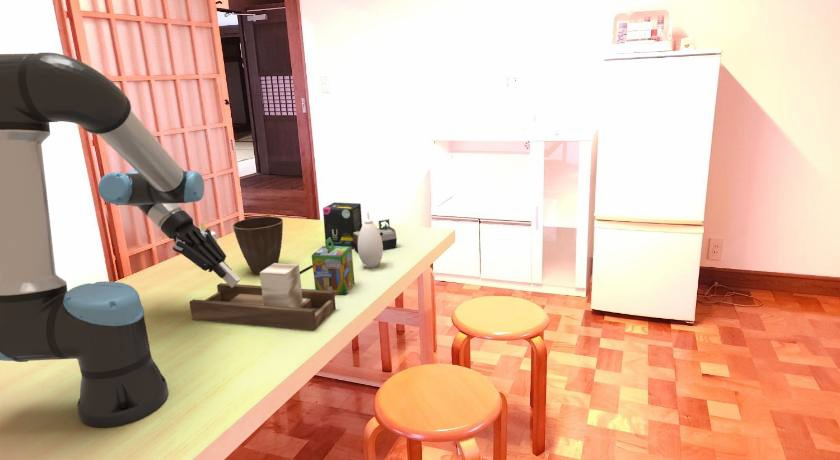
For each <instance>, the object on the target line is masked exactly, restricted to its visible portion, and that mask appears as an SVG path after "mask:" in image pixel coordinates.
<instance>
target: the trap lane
mask: <svg viewBox="0 0 840 460" xmlns="http://www.w3.org/2000/svg"><path fill="white" fill-rule="evenodd" d="M216 288H217V292H215V293H214V294H212V295H211V296H209V297H208V298H206V299H196V298H195V299H192V300H190V301H189V308H190V312H191V319H192V321H203V322H213V323H222V324H234V325H244V326H245V325H246V326H254V327H255V326H256V327H257V326H258V327H269V328H279V329H287V330H288V329H289V330H302V331H309V330H311V332H313V331H315V330H316V329H317V328H318V327H319V326H321V324H323V322H325V321H326V320H327V318H328V317H329V316H330V315H332V313H334V311H336V310H337V309H336V308H337V307H336V296H335V295H336V294H334V291H326V290H315V289H312V288H311V289H310V288H308V289H307V288H301V289H302V299H303V301H302V302H301V303H300V304H299V305H298V306H297V307H282V306H270V305H264V304H263V296H262V288H261V285H253V284H252V285H251V284H239V283H237V284H236V285H235V286H234V287H232V288H231V287H230V286H229V285H228V284H227V283H224V282H221V283H218V284H217V285H216Z"/></svg>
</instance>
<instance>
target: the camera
mask: <svg viewBox="0 0 840 460" xmlns="http://www.w3.org/2000/svg"><path fill="white" fill-rule="evenodd" d="M384 222H385V223H384ZM382 223H384V226H383V225H382ZM377 229H378V231H379V233H380V236H381V239H382V244H383V252H384V251H388V250H394V249H396V248H397V239H398V238H397V233H396V229H395V228H393V227H391V226H390V218H389V219H388V218H386V219H380V220H378V227H377ZM359 233H360V231H359V232H353V245H354V249H353V250H354V252H355V253H357V254H358V237H359Z"/></svg>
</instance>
